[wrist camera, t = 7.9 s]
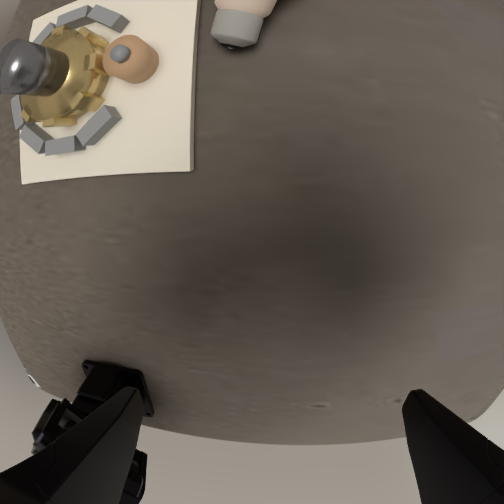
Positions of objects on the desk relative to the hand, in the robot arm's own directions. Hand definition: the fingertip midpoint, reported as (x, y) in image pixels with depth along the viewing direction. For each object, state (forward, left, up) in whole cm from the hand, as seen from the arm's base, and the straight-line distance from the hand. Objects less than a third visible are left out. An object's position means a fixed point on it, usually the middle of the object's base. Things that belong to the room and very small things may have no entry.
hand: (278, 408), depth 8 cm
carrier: (+13, +12, -12) cm, 21 cm away
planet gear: (+13, +13, -11) cm, 22 cm away
